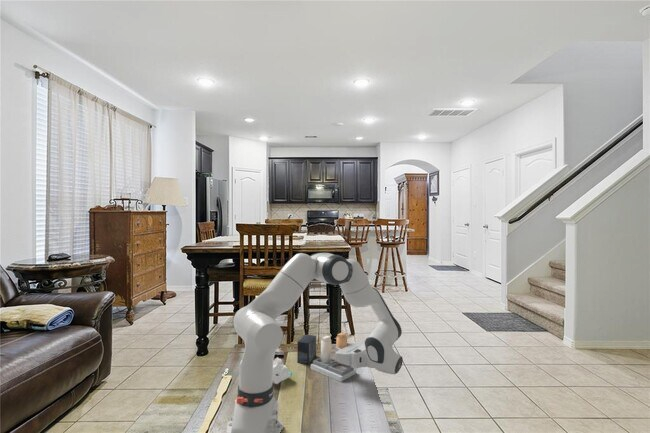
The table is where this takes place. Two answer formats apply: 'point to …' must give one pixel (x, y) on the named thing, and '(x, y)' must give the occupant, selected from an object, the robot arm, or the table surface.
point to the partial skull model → (280, 371)
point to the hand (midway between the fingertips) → (340, 346)
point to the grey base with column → (331, 363)
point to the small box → (306, 349)
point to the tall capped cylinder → (341, 341)
